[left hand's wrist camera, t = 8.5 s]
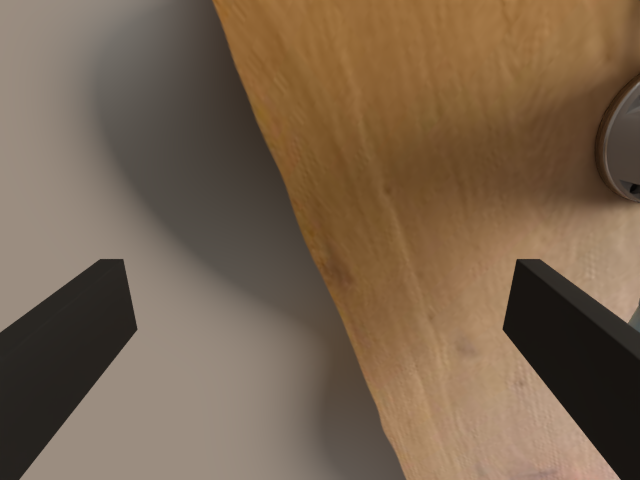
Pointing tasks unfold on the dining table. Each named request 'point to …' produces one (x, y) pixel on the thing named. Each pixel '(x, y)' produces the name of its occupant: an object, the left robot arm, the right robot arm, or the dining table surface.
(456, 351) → the dining table surface
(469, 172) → the dining table surface
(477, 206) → the dining table surface
